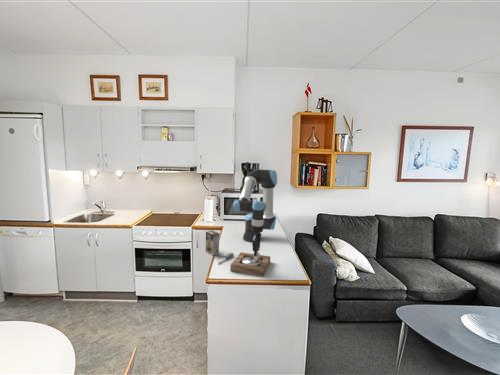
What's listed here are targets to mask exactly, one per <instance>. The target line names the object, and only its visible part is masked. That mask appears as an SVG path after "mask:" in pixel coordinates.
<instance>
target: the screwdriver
mask: <svg viewBox="0 0 500 375" xmlns="http://www.w3.org/2000/svg"><path fill="white" fill-rule="evenodd" d="M233 257H234V253H233V252H229V253H228V254H226V255H224V256H223V258H222V259H220V260H219V261H217V264H219V265H220V263H221V262H223V261H228V260H230V259H232V258H233Z"/></svg>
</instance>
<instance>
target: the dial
mask: <svg viewBox="0 0 500 375" xmlns="http://www.w3.org/2000/svg"><path fill="white" fill-rule="evenodd" d="M260 255H261V254H260V252H258V261H255V260H253V259H254V257H245V258H243V259H242V264H247V265H253V266H260V264H261V260H260V259H259V256H260Z"/></svg>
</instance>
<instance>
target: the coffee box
mask: <svg viewBox="0 0 500 375" xmlns="http://www.w3.org/2000/svg"><path fill="white" fill-rule="evenodd" d="M205 253H206V254H209V255H210V256H216V255H219V254H220V233H219V232H216V231H215V230H209V231H206V232H205Z"/></svg>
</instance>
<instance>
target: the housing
mask: <svg viewBox="0 0 500 375" xmlns="http://www.w3.org/2000/svg"><path fill="white" fill-rule="evenodd" d="M245 257H254V253H249V252H241V251H240V252H239V254H238V255H237V256H236V258H235V259H234V260H233V261H232V262H231V263H230V272H234V273H240V274H247V275H252V276H258V277H264V276H265V275H266V272H267V269H268V268H269V267H270V266H269V265H270V264H271V256H269V255H264V254H263V255H262V254H260V256H259V259H260V260H261V264H260V266H253V265H247V264H242V259H243V258H245Z"/></svg>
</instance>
